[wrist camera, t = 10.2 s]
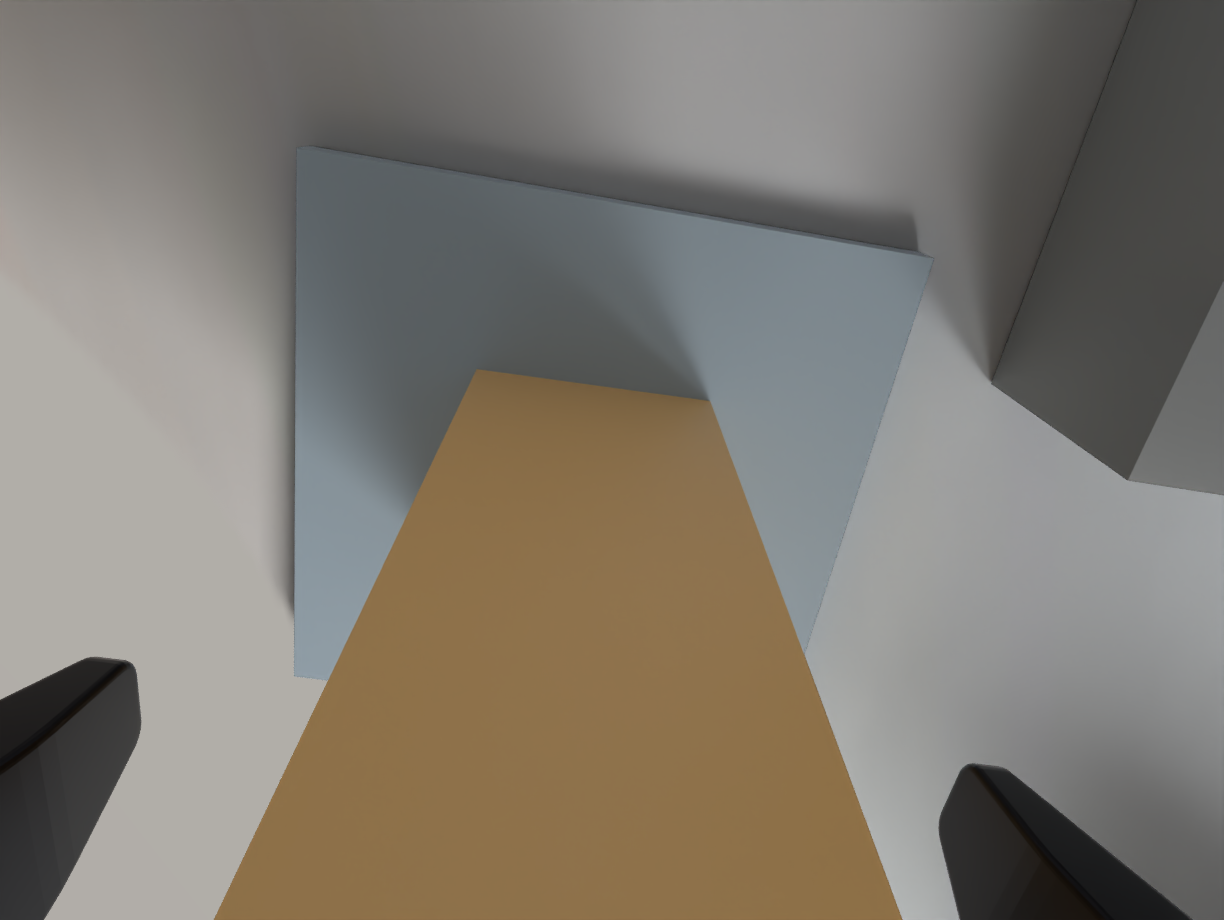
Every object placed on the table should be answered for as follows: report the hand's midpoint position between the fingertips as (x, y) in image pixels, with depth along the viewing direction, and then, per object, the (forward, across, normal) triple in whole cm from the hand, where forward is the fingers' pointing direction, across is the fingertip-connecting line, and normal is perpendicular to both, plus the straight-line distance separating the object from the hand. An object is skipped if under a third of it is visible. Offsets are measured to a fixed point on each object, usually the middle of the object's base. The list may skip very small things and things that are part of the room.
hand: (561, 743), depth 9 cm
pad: (+7, 0, 0) cm, 7 cm away
